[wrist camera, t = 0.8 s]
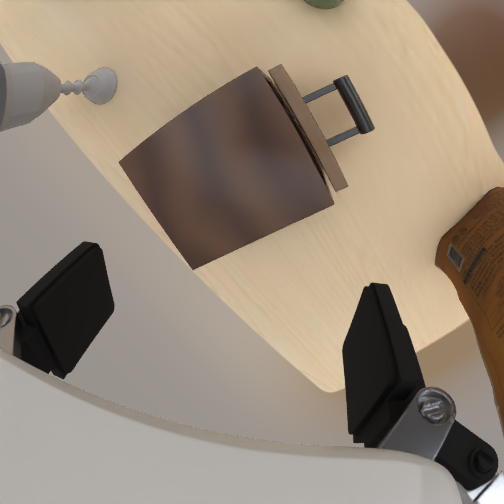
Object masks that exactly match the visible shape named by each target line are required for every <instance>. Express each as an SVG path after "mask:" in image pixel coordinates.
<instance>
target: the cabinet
mask: <svg viewBox="0 0 504 504" xmlns="http://www.w3.org/2000/svg"><path fill="white" fill-rule="evenodd" d="M119 164H120V165H121V167H122V168H123V170H124V171H125V173H126V174H127V176H128V177H129V179H130V181H131V182H132V184H133V185H134V187H135V188H136V190H137V191H138V193H139V194H140V196H141V197H142V199H143V200H144V202H145V203H146V205H147V206H148V208H149V209H150V210H151V212H152V213H153V215H154V216H155V218H156V219H157V221H158V222H159V224H160V225H161V226H162V228H163V229H164V231H165V232H166V234H167V235H168V236H169V238H170V239H171V241H172V242H173V243H174V245H175V246H176V248H177V249H178V250H179V252H180V253H181V255H182V256H183V257H184V259H185V260H186V261H187V263H188V264H189V266H190V267H191V268H192V270H194V269H196V268H198V267H201V266H203V265H205V264H207V263H209V262H211V261H213V260H215V259H218V258H220V257H222V256H224V255H226V254H228V253H230V252H233V251H235V250H237V249H239V248H241V247H243V246H245V245H248V244H250V243H252V242H254V241H256V240H258V239H260V238H263V237H265V236H267V235H269V234H271V233H273V232H275V231H278V230H280V229H282V228H284V227H286V226H288V225H291V224H293V223H295V222H297V221H299V220H301V219H304V218H306V217H308V216H310V215H312V214H314V213H317V212H319V211H321V210H323V209H325V208H328V207H330V206H332V205H334V201H333V198H332V195H331V193H330V190H329V187H328V184H327V182H326V179H325V176H324V174H323V172H322V170H321V168H320V166H319V164H318V162H317V160H316V159H315V157H314V155H313V153H312V151H311V149H310V147H309V145H308V144H307V142H306V140H305V138H304V136H303V135H302V133H301V131H300V129H299V127H298V126H297V124H296V122H295V120H294V119H293V117H292V115H291V114H290V112H289V110H288V108H287V107H286V105H285V103H284V102H283V100H282V98H281V97H280V95H279V93H278V92H277V90H276V89H275V87H274V85H273V84H272V82H271V81H270V79H269V78H268V77H267V76H266V75H265V74H264V73H263V72H262V71H261V70H260V69H259V68H258V67H255V68H253V69H251V70H250V71H248V72H246V73H244V74H242V75H241V76H239V77H237V78H236V79H234V80H232V81H230V82H229V83H227V84H225V85H224V86H222V87H221V88H219V89H217V90H216V91H214V92H213V93H211V94H209V95H208V96H206V97H205V98H203V99H202V100H200V101H199V102H197V103H196V104H194V105H193V106H191V107H190V108H188V109H187V110H185V111H184V112H182V113H181V114H180V115H178V116H177V117H175V118H174V119H173V120H171V121H170V122H168V123H167V124H166V125H164V126H163V127H162V128H160V129H159V130H158V131H156V132H155V133H154V134H152V135H151V136H150V137H149V138H147V139H146V140H145V141H143V142H142V143H141V144H140V145H138V146H137V147H136V148H135V149H134V150H132V151H131V152H130V153H129V154H127V155H126V156H125V157H124V158H123V159H122V160H120V161H119Z"/></svg>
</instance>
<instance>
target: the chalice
mask: <svg viewBox="0 0 504 504" xmlns="http://www.w3.org/2000/svg"><path fill="white" fill-rule="evenodd" d="M116 87H117V78H116V75H115V73H114V72H113V70H111V69H110V68H107V67H102V68H99V69H97V70H96V71H94V72H92V73H91V74H89V75H88V76H87V77H86V78H85V80H84V82H82V81H81V80H76V81H75V82H74V83H71V82H70V81H66V82H65V83H64V84H61V81H60V79H59V78H58V77H57V76H56V75H54V74H53V73H52V72H51V71H49V70H48V69H47V68H45V67H43V66H41V65H39V64H37V63H35V62H21V63H9V64H3V63H1V62H0V132H1V131H4V130H8V129H11V128H14V127H17V126H21V125H25V124H27V123H30V122H31V121H32V120H34V119H35V118H37V117H38V116H39V115H41V114H42V113H43V112H44V111H45V110H46V109H47V108H48V107H49V106H51V105H52V104H53V103H54V102H55V101H56V100H57V99H58V97H59V95H60V93H64V94H65V95H68V94H70V92H72V91H73V92H74V94H80V93H81V91H83V94H84V96H85V98H87V99H88V100H90V101H91V102H93V103H95V104H99V105H100V104H104V103H106V102H108V101H109V100H110V99H111V98H112V97H113V95H114V93H115V91H116Z"/></svg>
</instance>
